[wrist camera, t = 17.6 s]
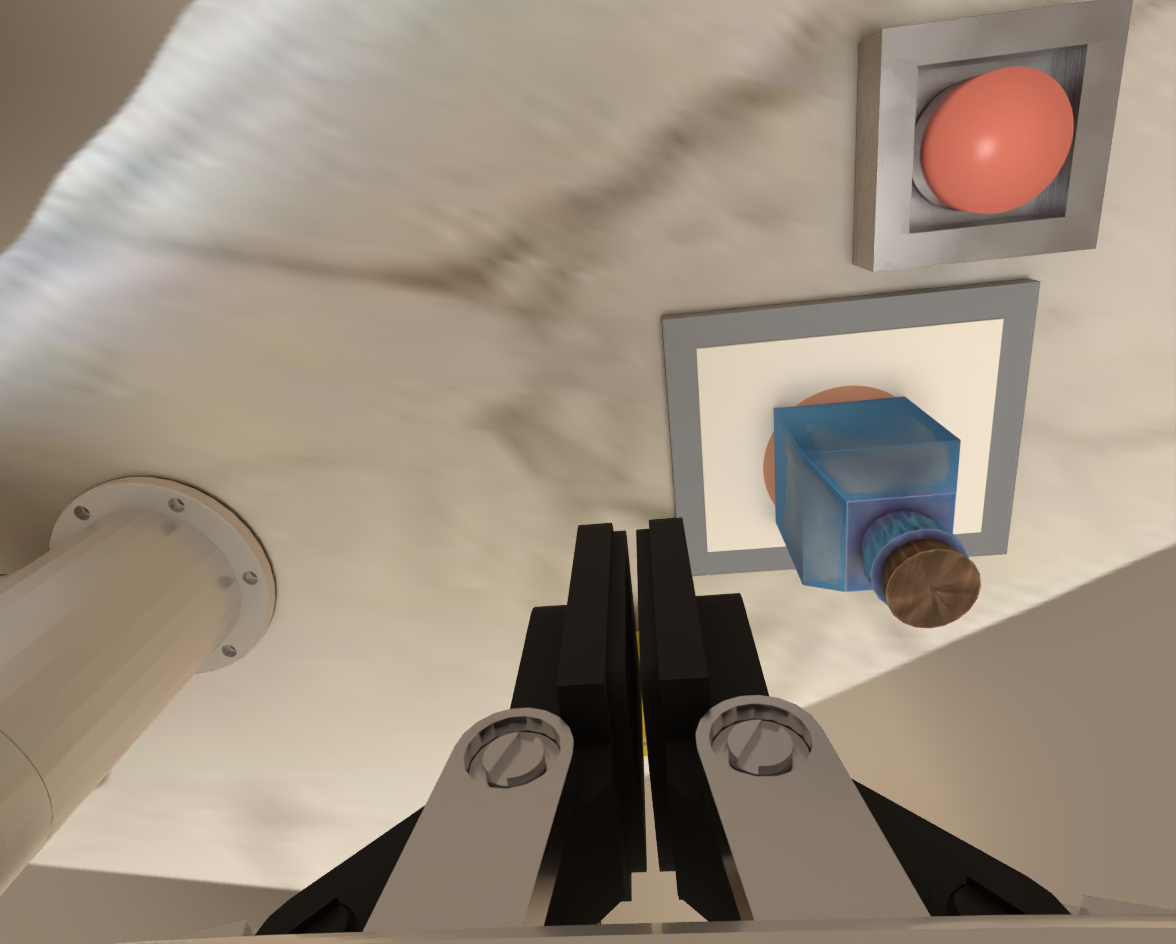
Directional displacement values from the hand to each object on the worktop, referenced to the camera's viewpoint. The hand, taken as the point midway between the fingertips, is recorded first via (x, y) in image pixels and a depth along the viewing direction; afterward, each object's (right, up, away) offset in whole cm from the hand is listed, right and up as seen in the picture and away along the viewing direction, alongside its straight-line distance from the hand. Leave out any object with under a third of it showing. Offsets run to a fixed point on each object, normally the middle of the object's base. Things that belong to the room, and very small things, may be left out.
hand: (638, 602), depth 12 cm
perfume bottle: (+12, +3, +24) cm, 27 cm away
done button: (+15, +16, +19) cm, 29 cm away
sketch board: (+12, +4, +25) cm, 28 cm away
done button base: (+15, +16, +20) cm, 30 cm away
